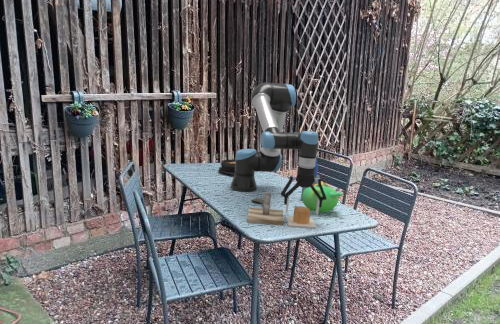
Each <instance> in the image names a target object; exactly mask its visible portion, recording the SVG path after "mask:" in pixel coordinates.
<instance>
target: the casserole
mask: <svg viewBox="0 0 500 324" xmlns="http://www.w3.org/2000/svg"><path fill="white" fill-rule="evenodd" d="M220 165H221V166H220V167H218V172H220V173H223V174H226V175H228V174H230V175H229V176H234V175H235V159H224V160H221V162H220Z"/></svg>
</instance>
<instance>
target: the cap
mask: <svg viewBox="0 0 500 324" xmlns="http://www.w3.org/2000/svg"><path fill="white" fill-rule="evenodd" d="M292 217H293V222H295V223H298V224H308V223H309V220H310V218H311V210H310V209H309V208H307V207H306V206H301V205H300V206H294V208H293V216H292Z"/></svg>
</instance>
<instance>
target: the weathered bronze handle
mask: <svg viewBox="0 0 500 324" xmlns="http://www.w3.org/2000/svg"><path fill="white" fill-rule="evenodd" d="M251 201H252V202H257V203H260V204H262V205H263V204H264V198H262V197H254V198H252V199H251Z"/></svg>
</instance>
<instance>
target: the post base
mask: <svg viewBox="0 0 500 324" xmlns="http://www.w3.org/2000/svg"><path fill="white" fill-rule="evenodd" d="M271 196H272V193H271V192H269V191H265V192H264V193H263V200H264V202H263V203H264V204H262V205H263V206H262V208H261V207H252V206H251V207H249V209H248V215H247V223H248V224H260V225H272V226H284V225H285V218H284V212H283V209H273V208H271V200H272V199H271Z"/></svg>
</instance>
